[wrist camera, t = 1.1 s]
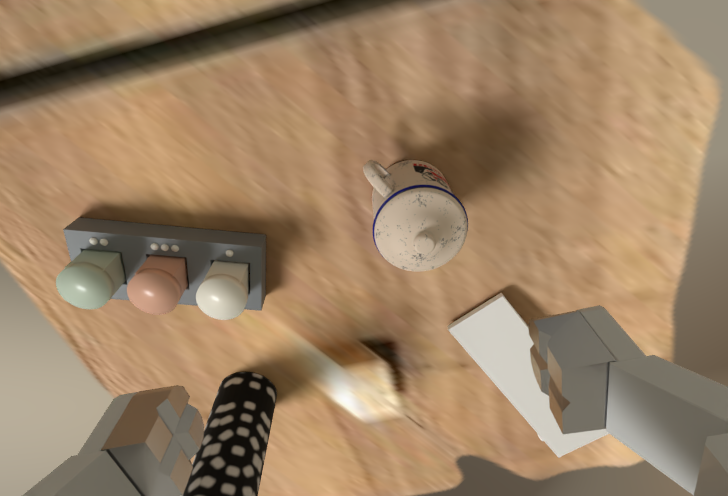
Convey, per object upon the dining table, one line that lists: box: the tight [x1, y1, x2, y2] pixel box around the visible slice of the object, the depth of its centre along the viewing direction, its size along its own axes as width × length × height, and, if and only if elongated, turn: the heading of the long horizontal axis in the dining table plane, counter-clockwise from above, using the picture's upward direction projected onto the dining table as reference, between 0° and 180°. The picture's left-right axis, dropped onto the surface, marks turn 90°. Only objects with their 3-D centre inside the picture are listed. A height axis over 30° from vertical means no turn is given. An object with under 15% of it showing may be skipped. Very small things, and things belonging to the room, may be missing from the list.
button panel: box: [63, 218, 266, 310], centre depth 50 cm, size 21×9×3 cm, turn 83°
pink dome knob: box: [127, 254, 188, 315], centre depth 48 cm, size 5×5×5 cm
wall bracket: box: [447, 293, 609, 457], centre depth 61 cm, size 10×7×28 cm
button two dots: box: [56, 249, 126, 309], centre depth 47 cm, size 5×5×5 cm
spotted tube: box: [182, 372, 277, 496], centre depth 54 cm, size 8×8×20 cm
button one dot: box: [196, 260, 249, 320], centre depth 48 cm, size 5×5×5 cm
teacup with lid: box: [363, 160, 468, 271], centre depth 43 cm, size 12×9×12 cm
